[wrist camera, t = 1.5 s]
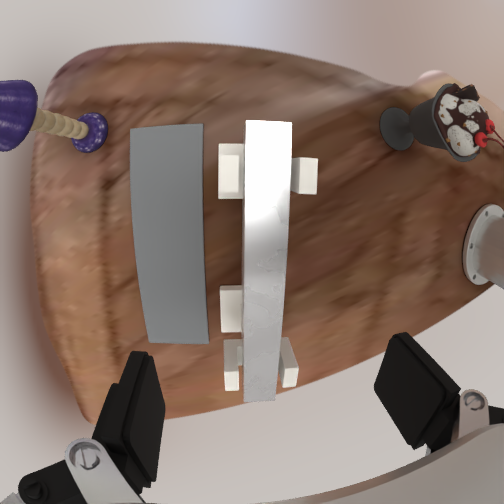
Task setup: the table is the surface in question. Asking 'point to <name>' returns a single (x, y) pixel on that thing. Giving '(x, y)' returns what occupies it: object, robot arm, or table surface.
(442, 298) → the table surface
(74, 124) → the toy lamp
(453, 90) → the sundae
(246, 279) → the rail
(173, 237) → the mat
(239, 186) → the rack
